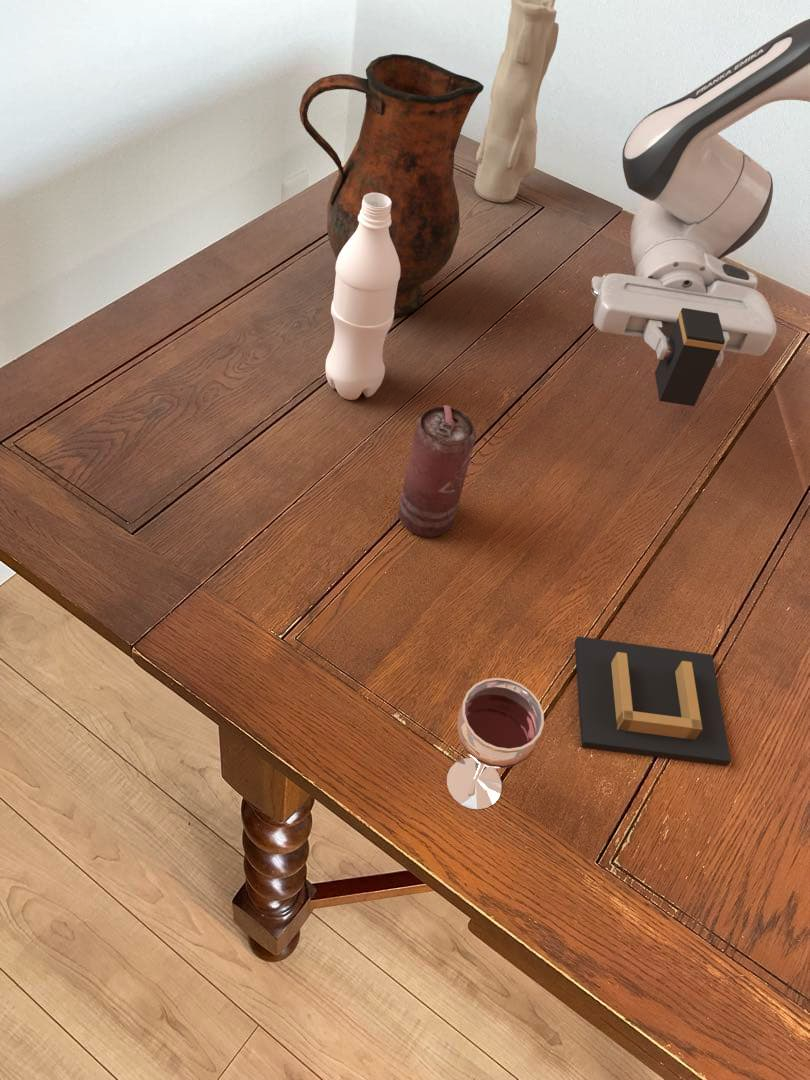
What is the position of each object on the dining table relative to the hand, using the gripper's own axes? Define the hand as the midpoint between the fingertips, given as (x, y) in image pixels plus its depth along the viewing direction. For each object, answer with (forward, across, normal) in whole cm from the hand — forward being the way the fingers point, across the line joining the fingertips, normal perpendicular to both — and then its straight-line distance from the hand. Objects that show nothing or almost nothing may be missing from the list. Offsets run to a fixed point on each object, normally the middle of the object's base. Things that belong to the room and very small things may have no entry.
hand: (691, 359), depth 105 cm
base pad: (+34, -3, +16) cm, 38 cm away
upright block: (-1, 0, +5) cm, 5 cm away
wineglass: (+45, -20, +16) cm, 52 cm away
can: (+14, -26, +16) cm, 34 cm away
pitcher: (-25, -36, +16) cm, 47 cm away
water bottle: (-6, -36, +16) cm, 40 cm away
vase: (-58, -18, +16) cm, 63 cm away
